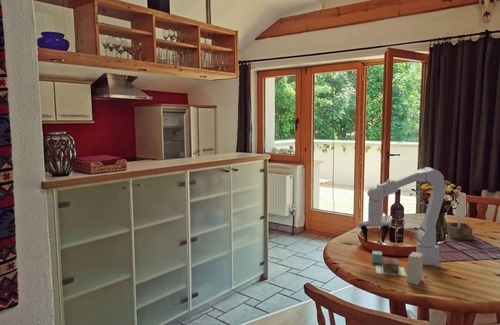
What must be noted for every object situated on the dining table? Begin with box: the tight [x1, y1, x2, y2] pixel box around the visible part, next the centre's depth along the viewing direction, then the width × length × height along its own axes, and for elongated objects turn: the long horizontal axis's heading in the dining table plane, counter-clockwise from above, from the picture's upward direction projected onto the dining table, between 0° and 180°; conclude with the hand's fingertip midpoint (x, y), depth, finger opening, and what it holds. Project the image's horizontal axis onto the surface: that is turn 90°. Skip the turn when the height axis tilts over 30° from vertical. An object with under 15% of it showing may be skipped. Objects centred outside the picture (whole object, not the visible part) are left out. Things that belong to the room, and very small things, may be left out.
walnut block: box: [382, 257, 400, 274], centre depth 165 cm, size 6×6×4 cm
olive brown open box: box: [445, 221, 473, 241], centre depth 210 cm, size 11×11×6 cm
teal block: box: [371, 250, 383, 264], centre depth 175 cm, size 4×4×5 cm
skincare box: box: [406, 251, 424, 286], centre depth 154 cm, size 6×4×12 cm
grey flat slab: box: [374, 264, 407, 277], centre depth 166 cm, size 12×9×1 cm
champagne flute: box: [452, 192, 468, 228], centre depth 209 cm, size 7×7×24 cm
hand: (374, 241), depth 176 cm, fingers open, 7 cm apart
